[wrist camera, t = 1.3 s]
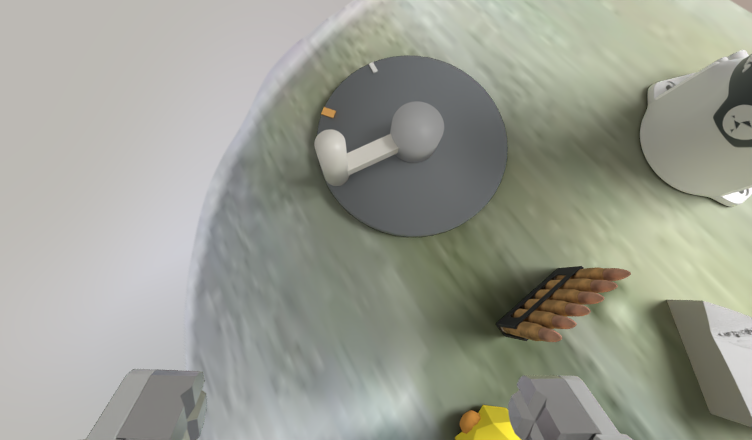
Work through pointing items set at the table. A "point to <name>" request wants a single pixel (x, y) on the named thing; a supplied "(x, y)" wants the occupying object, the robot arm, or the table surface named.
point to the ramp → (718, 355)
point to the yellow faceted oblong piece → (486, 425)
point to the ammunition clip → (558, 302)
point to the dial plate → (427, 178)
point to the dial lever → (382, 143)
